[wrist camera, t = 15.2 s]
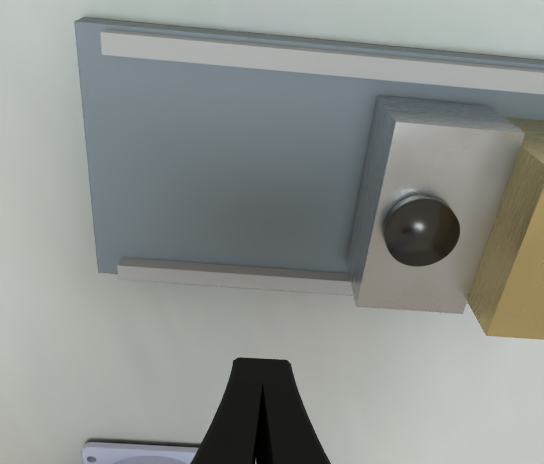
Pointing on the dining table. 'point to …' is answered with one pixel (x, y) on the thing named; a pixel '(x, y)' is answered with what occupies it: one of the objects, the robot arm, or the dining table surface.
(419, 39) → the dining table surface
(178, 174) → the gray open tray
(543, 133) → the wooden block
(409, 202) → the free jaw
